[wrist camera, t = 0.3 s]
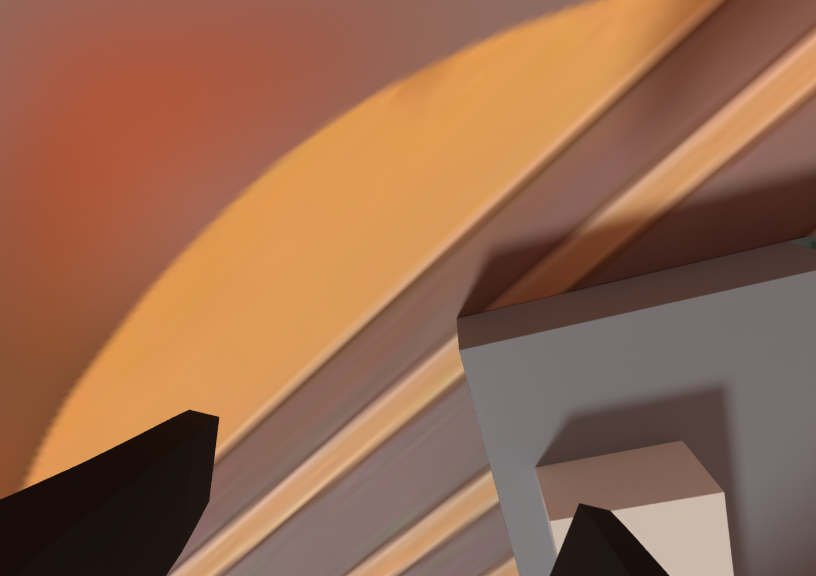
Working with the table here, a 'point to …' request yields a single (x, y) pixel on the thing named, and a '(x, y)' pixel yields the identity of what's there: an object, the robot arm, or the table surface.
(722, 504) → the cream tile
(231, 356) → the table surface
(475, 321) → the bench plate
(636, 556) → the robot arm
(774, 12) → the table surface
